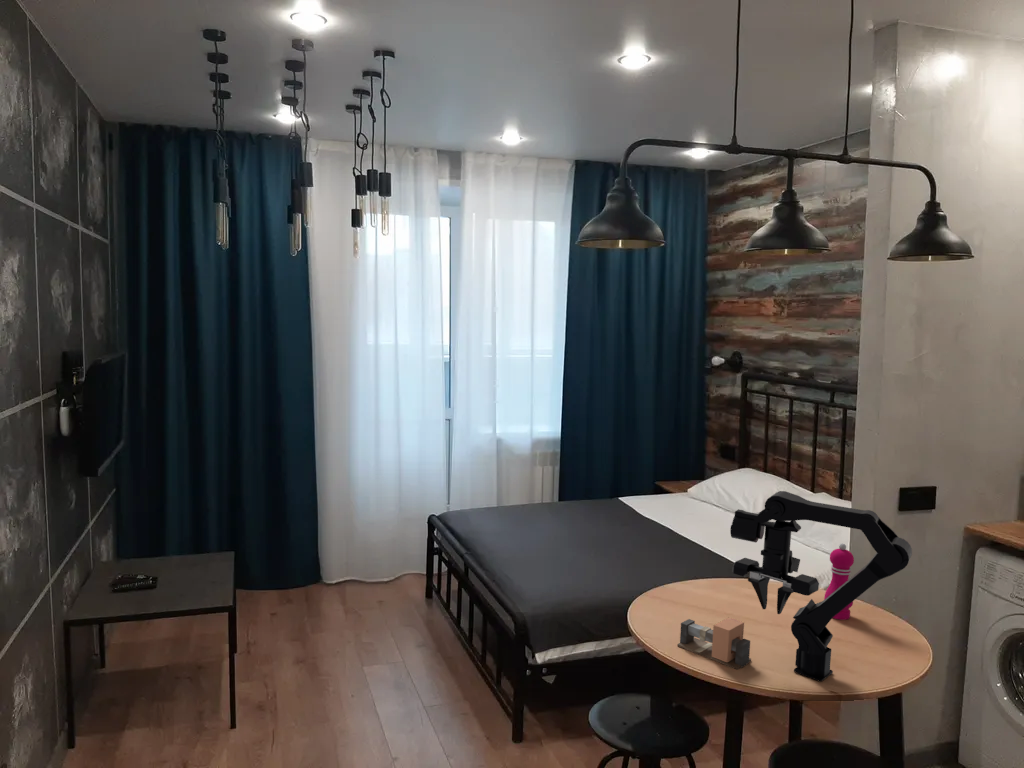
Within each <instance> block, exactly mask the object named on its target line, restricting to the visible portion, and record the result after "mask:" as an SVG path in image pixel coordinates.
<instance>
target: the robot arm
mask: <svg viewBox="0 0 1024 768" xmlns="http://www.w3.org/2000/svg"><path fill="white" fill-rule="evenodd" d="M772 520H773V521H772ZM797 521H810V522H815V523H816V522H817V523H822V524H827V525H833V526H836V527H837V526H838V527H845V528H849V529H855V530H860V531H861V532H862V533H863V534H864V537H865V538H866V539H867V540H868V542H869V544H870V545H871V547H872V549H873V550H874V551H875V554H874V555H873V557H872V558H871V559H870V560H869V562H868V563H867V564H866V565H865V566H863V567H862V568H861V569H860V570H858V571H857V572H856V573H855V574H854V575H853V576H851V577H849V580H848V581H846V582H845V583H844V584H843V585H842V586H840V587H839V588H838V589H837V590H836V591H834V592H833V593H832V594H831V595H830V596H828V597H827V598H826V599H825V600H824V599H823V600H821V601H820V602H817V603H815V601H814V600H813V599H812V598H810V600H809V602H808V603H807V604H806V605H804V606H803V607H799V609H798V610H797V611H796V613H795V614H794V615H793V617H792V618H793V621H792V622H791V625H790V628H791V633H792V635H793V637H794V638H795V639H796V640H797V643H798V648H796V651H795V663H794V666H795V668H794V669H793V672H794V673H796V674H799V675H802V676H805V677H808V678H810V679H812V680H816V681H818V682H823V681H824V680H825V679H827V678H828V677H830V676H831V675H832V674H833V673H834V672H833V670H832V669H831V660H832V648H830V647H828V646H829V644H830V643H831V640H832V639H833V637H834V635H833V634H832V632H831V631H830V630H829V629H828V628H827V625H828V624H829V623H830V621H832V619H834V618H833V617H834V616H835V615H836V614H838V613H839V612H840V611H841V610H843V609H844V608H845V607H846V606H848V605H849V604H850V603H851V602H853V603H854V601H855V600H856V599H858V598H859V597H860V596H861V595H862V594H863V593H865V592H866V591H868V590H869V589H870V588H871V587H873V586H874V585H875V584H876V583H877V582H879V581H880V580H884V579H885V578H889V577H891V576H893V575H895V574H896V573H899V572H901V571H902V570H904V569H905V568H906V567H907V566H908V564H909V562H910V560H911V558H912V555H913V549H912V546H911V544H910V543H909V542H908V541H907V540H905V539H904V538H902V537H899V536H898V534H896V532H895V531H894V530H893V529H892V528H891V527H890V526H889V525H888V524H887V523H885V522H884V521H883V520H882V519H881V518H880V517H879V516H878V514H877V513H876V512H875V511H874V510H871V509H866V510H864V509H856V508H852V507H845V506H840V505H835V504H828V503H821V502H816V501H811V500H809V499H806V498H804V497H801V496H799V495H798V494H794V493H791V492H788V491H784V490H779V491H776V492H775V493H773V494H772V495H771V496H770V497H768V498H767V499H766V500H765V502H764V509H762V510H760V511H759V512H757V513H755V512H751V511H750V512H749V511H745V510H744V509H737V510H735V511H734V516H733V519H732V522H731V525H730V530H729V531H730V537H731V538H732V539H737V540H741V541H746V542H752V543H757V542H758V540H762V539H763V538H764V542H763V549H761V550H760V555H761V556H762V565H761V566H760V563H759V560H754V559H752V558H747V557H744V558H741V559H739V560H736V561H734V562H733V564H732V570H731V572H732V574H734V575H737V576H741V577H745V576H746V575H748V573H749V577H748V578H747V581H748V582H749V583H750V584H751V585H752V587H753V589H754V591H755V593H756V596H757V599H758V601H759V604H760V606H761V609H762V610H766V609H767V604H768V589H769V588H768V586H769V582H770V581H771V580H773V581H777V582H780V583H782V586H780V587H778V588H777V596H776V597H777V598H776V599H777V600H776V601H777V602H776V613H777V615H780V614H781V613H782V611H783V610H784V608H785V606H786V603H787V602H788V599H789V598H790V596H791V595H792V594H794V593H796V594H799V595H802V596H811V595H812V594H815V592H817V591H819V588H820V587H819V585H820V583H819V580H818V579H817V577H814V576H809V575H807V574H803V573H800V574H799V575H797V576H793V575H789V574H793V573H794V572H795V573H798V570H799V567H800V563H801V559H800V558H798V557H794V556H793V550H791V542H792V541H791V540H792V533H798V532H799V531H800V530H801V529H802V526H801V525H800V524H799V523H798V522H797Z"/></svg>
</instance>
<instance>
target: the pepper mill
mask: <svg viewBox="0 0 1024 768" xmlns="http://www.w3.org/2000/svg"><path fill="white" fill-rule="evenodd" d="M829 561H830V563H831V566H830V571H831V573H832V575H831V580H830V584H829V585H828V587H827V588H826V590H825V592H824V597H823V600H825V599H826V598H827V597H828V596H830V595H831V594H832V593H833V592H834V591H836V590H837V589H838V588H839V587H840V586H842V585H843V584H844V583H845V582H846V581H848V580H849V579H850V575H851V573H852V568H851V567H852V566H853V565H854V563H855V559H854V555H853V554H852V552H851V551H849V550H847V545H846V544H845V543H840V544H839V545H838V548H835V549H833V550H832V551H831V552H830V555H829ZM853 605H854V601H853V602H851V603H850V604H849V605H848V606H846V607H845V608H844V609H843V610H841V611H840V612H839V613H838V614H836V615H835V616H834V617H833V618H832V619H835V620H839V621H840V620H841V621H842V620H843V621H846V620H849V619H850V618H851V610H850V608H851V607H852V606H853Z"/></svg>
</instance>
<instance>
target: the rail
mask: <svg viewBox="0 0 1024 768" xmlns="http://www.w3.org/2000/svg"><path fill="white" fill-rule="evenodd" d="M695 622H696V621H695V620H693V619H692V618H691V619H690V618H688V619H686V620H684V621H682V622H680V633H679V635H680V637H679V643H677V647H679V648H681V649H684V650H686V651H689V652H692V653H694V654H696V655H700V656H702V657H704V658H708V659H710V660H712V661H714V662H717V663H720V664H722V665H725V666H727V667H730V668H734V669H735V670H739V669H741V668H744V667H745V666H746V665H748V664H749V663H750V662H752V658H750V654H751V653H750V651H751V650H750V649H751V640H749V639H746V638H743V639H742V640H739V639H737V638H735V639H733V640H732V646H731V650H732V651H735V652H736V656H735V658H734V659H732V660H731V661H729V662H724V661H721V660H719V659H716V658H714V657H712V642H713V629H712V628H711V627H709V626H706V625H705V626H703V625H700V624H697V623H695Z"/></svg>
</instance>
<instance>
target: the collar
mask: <svg viewBox="0 0 1024 768" xmlns="http://www.w3.org/2000/svg"><path fill="white" fill-rule="evenodd" d="M712 626H713V627H712V628H713V629H712V630H713V642H712V643H711V644H712V657H714V658H716V659H719V660H721V661H724V662H729V661H731V660H732V659H734V658H735V656H736V652H735V651H732V650H731V646H732V640H733V639H735V638H737V639H739V640H742V639H744V631H745V630H744V629H745V621H743V620H738V619H736V618H732V617H729V616H728V617H726V618H724V619H722V620H721V621H719V622H717V623H715V624H713V625H712Z"/></svg>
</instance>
